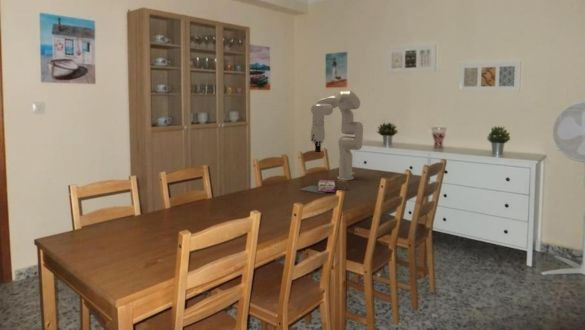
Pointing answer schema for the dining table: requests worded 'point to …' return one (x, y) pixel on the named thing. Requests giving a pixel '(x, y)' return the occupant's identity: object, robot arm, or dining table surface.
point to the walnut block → (341, 184)
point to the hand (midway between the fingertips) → (317, 151)
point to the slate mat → (312, 189)
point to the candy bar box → (326, 185)
